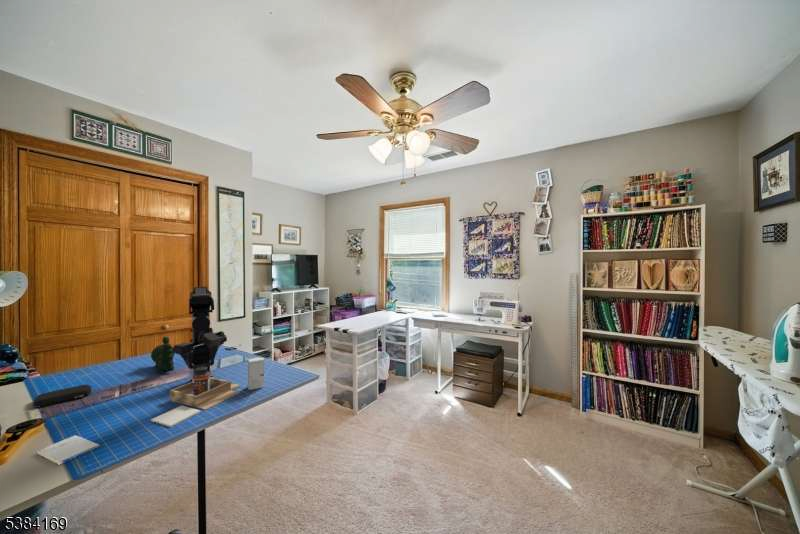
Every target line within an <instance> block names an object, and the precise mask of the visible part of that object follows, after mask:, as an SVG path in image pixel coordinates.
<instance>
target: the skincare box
mask: <svg viewBox="0 0 800 534" xmlns="http://www.w3.org/2000/svg"><path fill="white" fill-rule="evenodd" d="M264 380H265V358H264V357H263V356H262V357H254V358H248V359H247V389H248V391H250V390H255V389H261V388H262V389H263V388H264V385H265V381H264Z"/></svg>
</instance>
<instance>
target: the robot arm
mask: <svg viewBox="0 0 800 534" xmlns="http://www.w3.org/2000/svg"><path fill="white" fill-rule="evenodd" d="M188 301H189V302H188V303H189V304H188V314H189V315H192V318H191V319H192V320H191V327H192V328H190V329H189V331H190V332H191V333H192V338H191V339H190V341H189V342H190V343H186V342H182V343H178V344H174V345H173V346H172V347H173V348H172V353H175V354H176V355H179V356H180V357H181V359H182V360H183V361H184V363H185V364H186V367H188V369H190V370H193V375H194V374H195V373H196V372H195V369H196V368H198V367H203V366H205V367H207V371H208V372H210V373H211V367H212V366H213V365H215V358H216V356H217V353H218V350H219V348H220V347H221V346H223V345H224V344H225V343H226V342H227V340H228V337H227V335H226V334H225V331H221V330H220V331H217V332H214V331H213V328H212V327H211V313H213V312H214V311H215V299H214V297H212V292H211V291H210V290H209V289H208V286H205V285H203V286H194V287H193V290H192V291H191V292H190V293H189V299H188ZM213 310H214V311H213ZM210 377H212V378H214V376H213V375H210ZM192 379H193V378H191V379H189V381H190V382H192Z"/></svg>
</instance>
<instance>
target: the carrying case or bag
mask: <svg viewBox="0 0 800 534" xmlns="http://www.w3.org/2000/svg"><path fill="white" fill-rule="evenodd" d="M91 393H92V386H91V385H90V384H81V385H76V386H71V387H67V388H63V389H62V388H61V389H57V390H53V391H48V392H43V393H40V394H38V395H37V396H36V397H35V398H34V400H33V403H32V405H33V407H36V406H44V405H48V406H50V405H49V404H52V405H55V404H54V403H57V404H61V403H64V401H65V402H69V401H73V400H77V399H82V398H85V397H88V396H90V394H91ZM60 402H61V403H60ZM44 407H45V406H44Z"/></svg>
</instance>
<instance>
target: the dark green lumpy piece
mask: <svg viewBox="0 0 800 534" xmlns="http://www.w3.org/2000/svg"><path fill="white" fill-rule="evenodd" d="M173 347H174V346H172V344H171V343H170V338H169V337H168V336H163V337H162V344H159V345H157V346H156V347H154V348H153V349H152V351H151V352H150V357H151V360H152V361H153V362H154V363H155V365H154V369H155V372H156V373H158V374H163V373H164V372H166V371H170V372H172V371H174V370H175V366H174V364H175V363H174V358H175V354H176V353H172V348H173Z"/></svg>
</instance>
